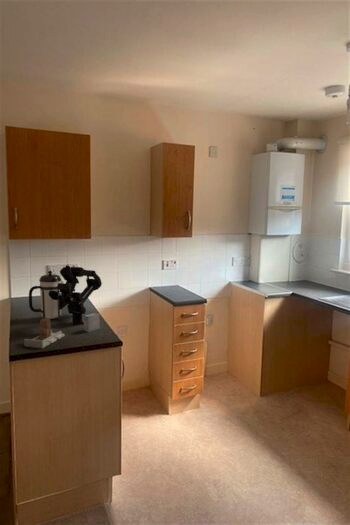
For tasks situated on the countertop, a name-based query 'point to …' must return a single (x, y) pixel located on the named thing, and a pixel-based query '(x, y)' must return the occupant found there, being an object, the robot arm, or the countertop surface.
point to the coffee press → (47, 296)
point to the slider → (45, 329)
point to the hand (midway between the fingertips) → (60, 309)
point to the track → (42, 343)
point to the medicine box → (91, 322)
